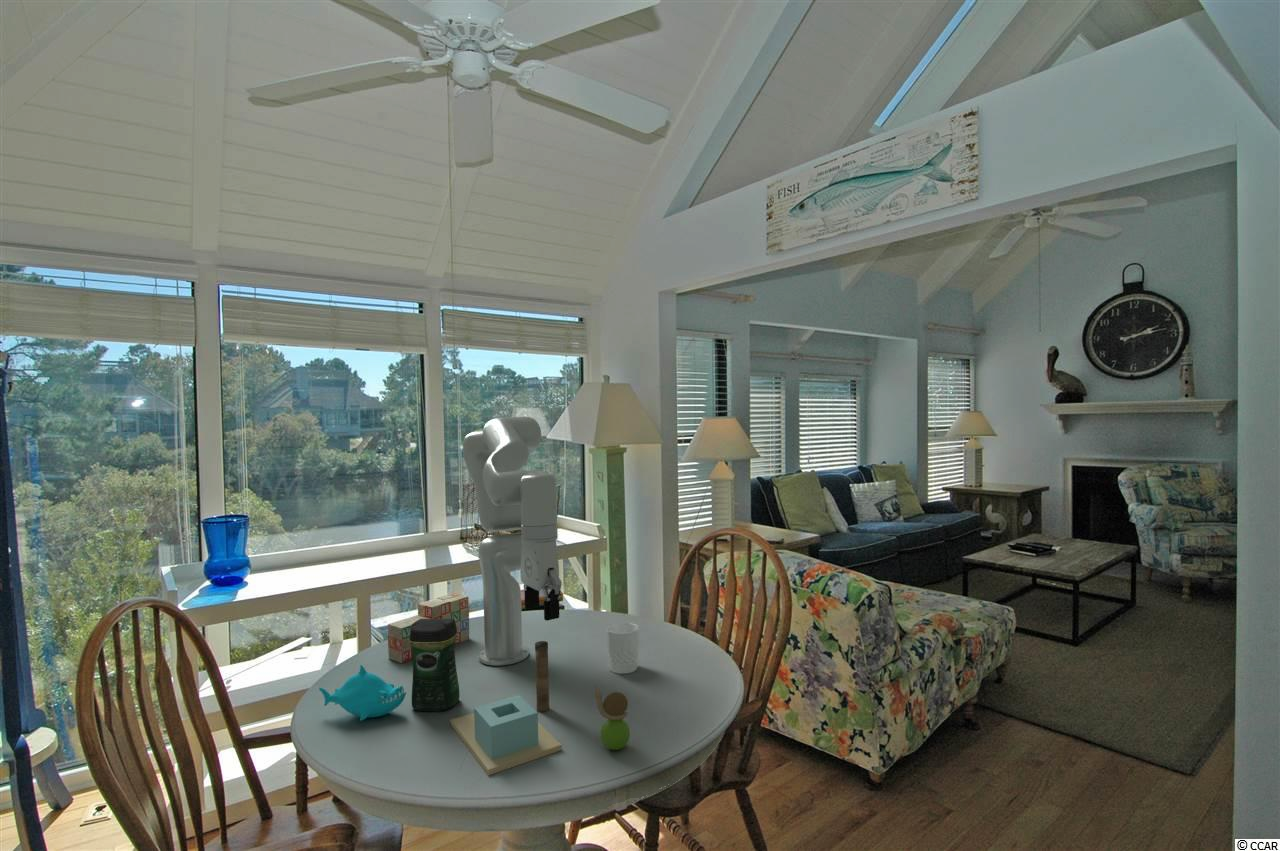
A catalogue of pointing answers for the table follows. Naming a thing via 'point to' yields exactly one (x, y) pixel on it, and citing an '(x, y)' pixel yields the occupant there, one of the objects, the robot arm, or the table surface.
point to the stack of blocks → (431, 609)
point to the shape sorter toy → (505, 734)
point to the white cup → (623, 647)
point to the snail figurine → (613, 719)
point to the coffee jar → (434, 664)
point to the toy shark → (366, 695)
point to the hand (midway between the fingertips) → (541, 613)
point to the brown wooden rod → (542, 676)
